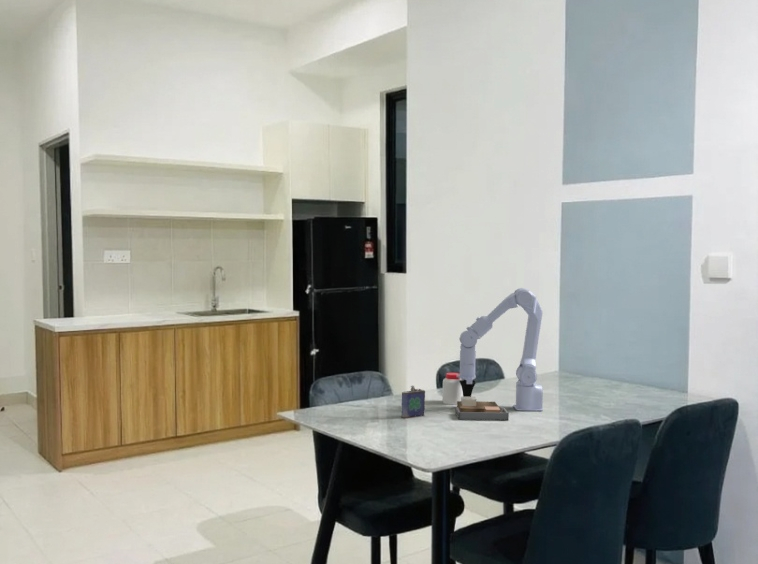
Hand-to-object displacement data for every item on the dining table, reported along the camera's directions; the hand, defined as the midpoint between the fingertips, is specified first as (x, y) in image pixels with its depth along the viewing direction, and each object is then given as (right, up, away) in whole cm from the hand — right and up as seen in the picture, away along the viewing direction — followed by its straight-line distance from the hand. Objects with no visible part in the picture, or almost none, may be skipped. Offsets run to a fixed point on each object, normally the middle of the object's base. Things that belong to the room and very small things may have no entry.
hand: (467, 400), depth 266 cm
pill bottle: (-4, -3, +8) cm, 10 cm away
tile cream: (0, -1, -5) cm, 5 cm away
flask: (-21, -3, -15) cm, 26 cm away
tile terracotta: (+7, -3, -14) cm, 16 cm away
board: (+3, -3, -5) cm, 6 cm away
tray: (+3, -3, -15) cm, 16 cm away
